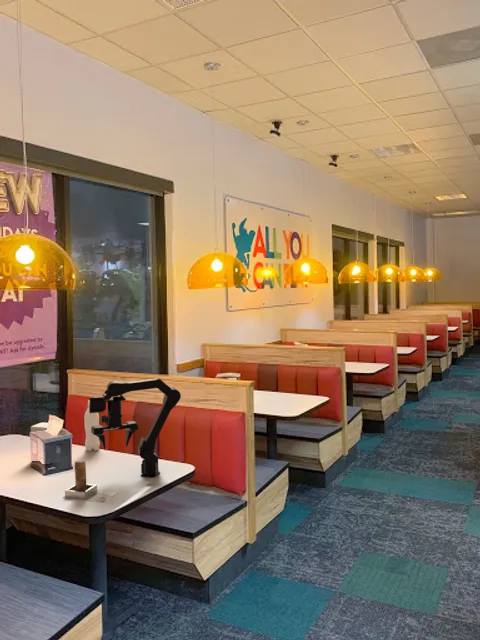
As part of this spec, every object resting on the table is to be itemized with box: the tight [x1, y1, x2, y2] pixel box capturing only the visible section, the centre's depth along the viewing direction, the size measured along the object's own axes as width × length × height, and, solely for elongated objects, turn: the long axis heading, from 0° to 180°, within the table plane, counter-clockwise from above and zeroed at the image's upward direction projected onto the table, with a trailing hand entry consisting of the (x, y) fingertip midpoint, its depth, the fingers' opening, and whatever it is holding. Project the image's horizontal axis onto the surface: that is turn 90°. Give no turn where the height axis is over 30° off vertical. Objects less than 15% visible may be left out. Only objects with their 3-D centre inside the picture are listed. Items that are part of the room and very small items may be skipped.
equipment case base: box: [61, 490, 118, 503], centre depth 215 cm, size 18×10×2 cm, turn 74°
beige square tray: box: [64, 483, 98, 499], centre depth 216 cm, size 9×9×2 cm
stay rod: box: [74, 460, 88, 492], centre depth 216 cm, size 4×4×12 cm
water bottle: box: [83, 399, 101, 452], centre depth 282 cm, size 7×7×25 cm
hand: (115, 448), depth 238 cm, fingers open, 9 cm apart
